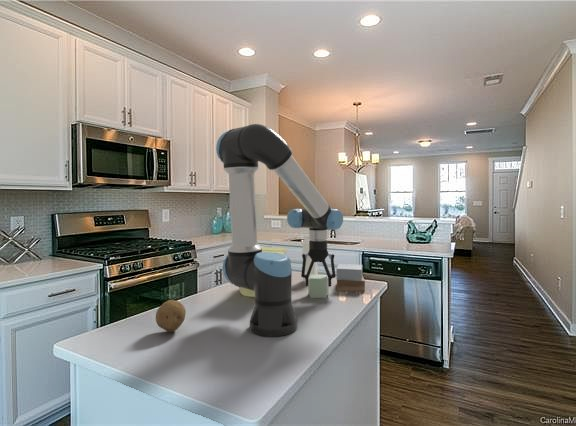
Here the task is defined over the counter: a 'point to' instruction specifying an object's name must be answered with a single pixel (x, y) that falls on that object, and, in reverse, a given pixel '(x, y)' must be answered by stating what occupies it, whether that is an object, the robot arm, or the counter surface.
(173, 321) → the potato
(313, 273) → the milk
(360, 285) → the tower base
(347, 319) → the counter surface
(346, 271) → the tower top
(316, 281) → the sage block
